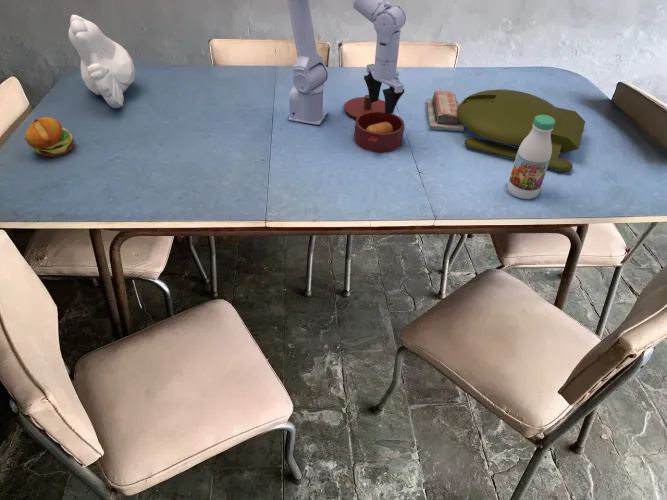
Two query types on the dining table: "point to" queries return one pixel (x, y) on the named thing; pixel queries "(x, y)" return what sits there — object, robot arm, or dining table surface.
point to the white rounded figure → (101, 61)
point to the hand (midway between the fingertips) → (381, 107)
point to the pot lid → (362, 106)
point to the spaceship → (517, 124)
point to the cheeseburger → (49, 137)
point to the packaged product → (443, 112)
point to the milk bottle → (532, 159)
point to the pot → (378, 140)
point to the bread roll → (380, 128)
